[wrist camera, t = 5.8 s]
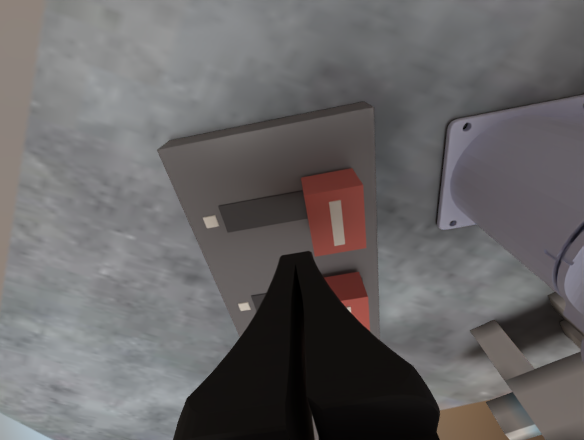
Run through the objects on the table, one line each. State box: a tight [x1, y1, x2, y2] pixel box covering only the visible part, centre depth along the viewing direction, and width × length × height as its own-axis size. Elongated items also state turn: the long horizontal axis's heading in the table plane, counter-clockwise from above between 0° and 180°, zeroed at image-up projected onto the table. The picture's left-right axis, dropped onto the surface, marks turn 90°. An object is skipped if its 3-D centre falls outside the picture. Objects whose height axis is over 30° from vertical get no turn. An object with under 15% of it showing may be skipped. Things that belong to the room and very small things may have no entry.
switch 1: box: [301, 168, 366, 257], centre depth 16 cm, size 3×4×2 cm
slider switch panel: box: [157, 102, 380, 340], centre depth 22 cm, size 12×26×2 cm, turn 10°
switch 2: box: [324, 272, 370, 331], centre depth 20 cm, size 3×4×2 cm
